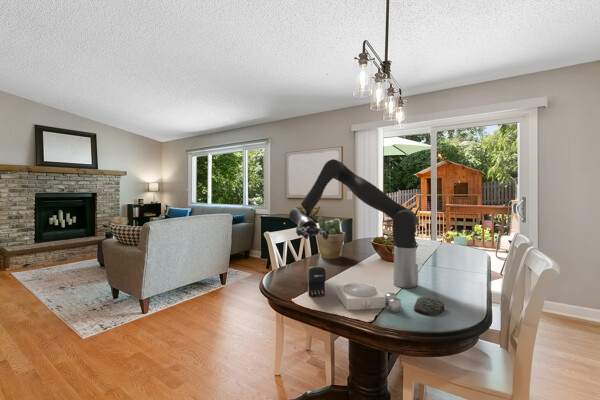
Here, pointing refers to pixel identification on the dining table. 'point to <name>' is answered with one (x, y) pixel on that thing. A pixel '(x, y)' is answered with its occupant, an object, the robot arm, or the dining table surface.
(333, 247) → the potted plant
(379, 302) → the scale
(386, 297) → the spacer
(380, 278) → the dining table surface
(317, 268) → the battery
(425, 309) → the fossil
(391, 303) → the spacer
